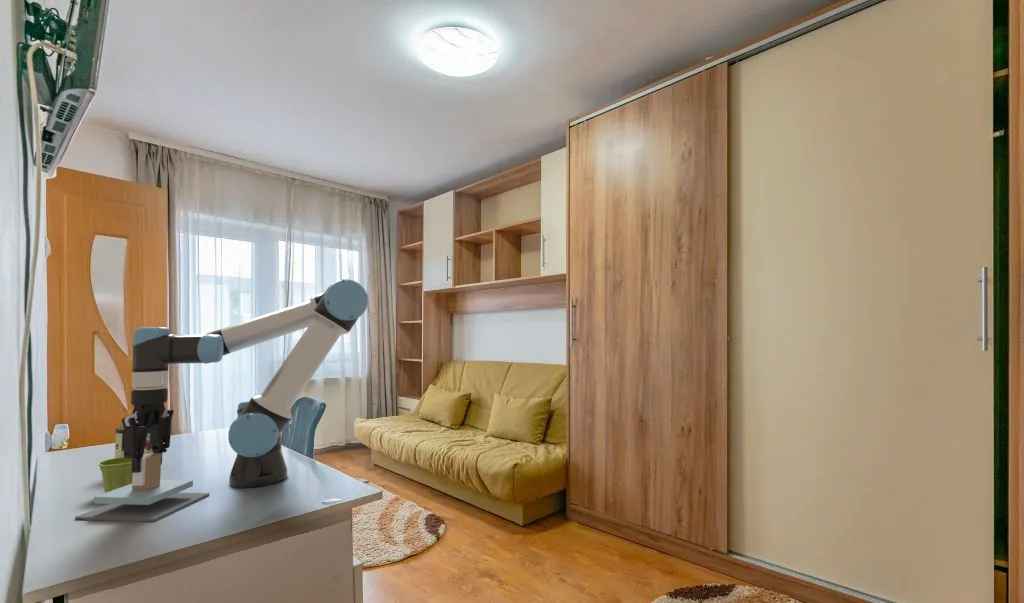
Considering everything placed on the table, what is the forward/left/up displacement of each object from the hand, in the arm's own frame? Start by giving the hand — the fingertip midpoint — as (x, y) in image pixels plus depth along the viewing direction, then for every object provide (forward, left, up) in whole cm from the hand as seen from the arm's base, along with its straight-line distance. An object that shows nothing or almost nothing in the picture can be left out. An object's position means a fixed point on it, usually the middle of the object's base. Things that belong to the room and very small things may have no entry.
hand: (146, 482), depth 124 cm
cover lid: (0, 0, -3) cm, 3 cm away
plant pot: (+17, -10, -6) cm, 21 cm away
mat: (0, 0, -6) cm, 6 cm away
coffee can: (+30, -29, -6) cm, 42 cm away
